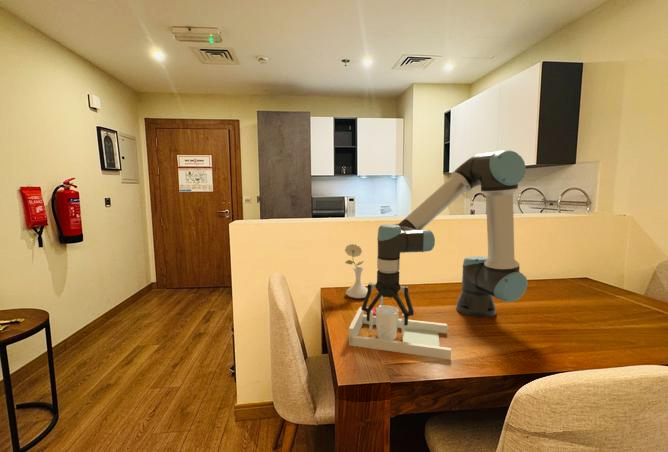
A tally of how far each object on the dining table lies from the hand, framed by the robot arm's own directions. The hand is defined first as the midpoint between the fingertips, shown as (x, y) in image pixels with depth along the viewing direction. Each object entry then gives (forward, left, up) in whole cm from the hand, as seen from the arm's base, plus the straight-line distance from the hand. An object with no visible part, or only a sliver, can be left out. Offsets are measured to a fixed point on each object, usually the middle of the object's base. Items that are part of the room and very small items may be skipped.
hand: (386, 331), depth 112 cm
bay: (-5, 0, -2) cm, 5 cm away
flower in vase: (+18, -37, -2) cm, 41 cm away
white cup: (0, 0, -2) cm, 2 cm away
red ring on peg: (+4, -20, -2) cm, 21 cm away
